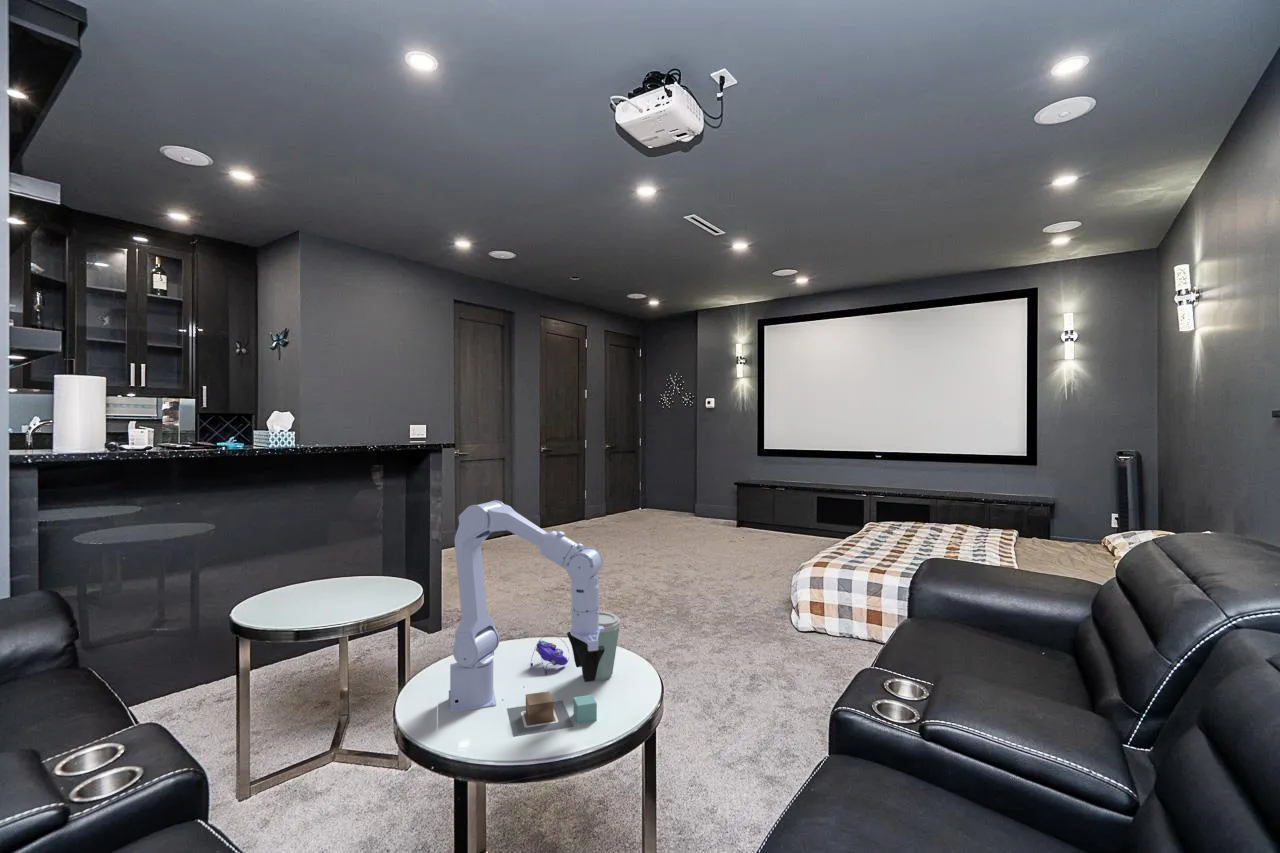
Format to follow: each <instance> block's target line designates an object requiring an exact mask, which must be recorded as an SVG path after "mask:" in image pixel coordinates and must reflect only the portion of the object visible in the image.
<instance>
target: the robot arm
mask: <svg viewBox="0 0 1280 853" xmlns="http://www.w3.org/2000/svg"><path fill="white" fill-rule="evenodd" d="M501 531H502V532H503V531H504V532H505V531H508V532H510V533H512V534H514V535H516V536H518V537H520V538H522V539H523V540H525V541H528V542H530V543H532V544H533V545H535V546H537V547H538V549H539V554H540V555H541V556H543V557H545V559H548V560H550V561H551V562H553V563H554V564H556V565H558V566H559V567H561V568H563V569H565V570H566V573H567V575H568V577H569V578H570V580H571V585H570V586H571V588H570V589H571V590H570V591H571V592H570V593H571V596H570V599H571V601H570V603H571V605H570V606H571V607H570V608H571V612H570V615H571V619H570V621H571V623H570V624H571V626H570V627H571V628H570V630H569V631H568V632H567V633H566V635H567V637H568V639H569V642H570V643H569V644H570V645H571V649H572V653H573V654H572V655H573V658H574V659H573V660H574V663H575V664H574V665H575V667H576V668H581V673H582V678H583V681H584V683H590V682H595V678H596V673H597V669H598V664H599V661H600V659H601V657H602V655H603V653H604V651H605V648H604V646H598V637H599V633H600V632H604V627H603V626H599V611H600V608H599V607H600V584H599V583H600V582H599V581H600V580H599V579H600V578H599V572H600V571H601V569H602V568H603V564H604V561H603V557H602V555H601V553H600V552H599V551H598V550H597V549H596V548H595V547H593V546H588V547H584V544H582V543H580V542H579V543H577V542H576V541H574V540H572V539H570V538H568V537H566V533H565V532H563V531H562V530H560V531H556V530H552V531H549V532H547V531H545V530H544V529H543V528H541V527H539V526H538V525H536V524H535V523H534V522H532V521H530V520H529V519H527V518H526V517H524V516H523V515H522V514H520V513H518V512H517V511H516V510H514V509H513V508H512V506H510V505H508V504H505V503H503V501H501V500H496V499H494V500H491V501H489V502H484V503H480V504H472V505H469V506H468V507H466V508H465V509H464V510H463V511H462V512H461V513H460V514H459V515H458V527H457V530H456V533H455V537H454V551H455V559H456V561H455V562H456V571H457V583H458V593H459V602H460V604H459V605H460V615H461V620H460V623H459V624H458V626H457V628H456V630H455V633H454V637H455V640H454V644H453V646H452V654H453V658H454V660H455V662H454V663H451V664H450V665H449V666H450V667H449V669H450V671H449V674H450V675H449V679H450V680H449V681H450V682H449V690H448V700H450V703H449V704H450V713H457V712H464V711H471V710H472V711H473V710H478V709H486V708H493V707H496V706H497V699H496V694H495V690H494V656H495V651H496V650H497V648H498V647H499V644H500V636H499V632H498V630H497V629H496V626H495V620H494V618H492V616H490V615H489V614H488V607H487V596H486V587H485V578H484V577H485V576H484V566H483V556H482V555H483V554H482V544H483V543H484V541H485V540H486V539H487V538H488V537H489V536H490V535H491V534H492V533H494V532H501Z"/></svg>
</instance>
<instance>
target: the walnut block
mask: <svg viewBox="0 0 1280 853" xmlns="http://www.w3.org/2000/svg"><path fill="white" fill-rule="evenodd" d="M554 701H555V700H553V697H552V694H551V692H550V690H548V691H547V690H546V691H541V692H535V693H527V694H526V693H525V706H526V716H527V720H528V723H529V725H532V724H538V723H544V722H551V721H554Z"/></svg>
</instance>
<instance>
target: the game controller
mask: <svg viewBox="0 0 1280 853" xmlns="http://www.w3.org/2000/svg"><path fill="white" fill-rule="evenodd" d="M547 636H549V634H548V635H545V636H541V637H540V639H539V640H538V642H537V643H536V645H535V647H534V650H533V652H532V656H531V659H530V667H531V668H532V667H533V666H534V663H533V662H532V660H533V657H534V653H535V651H536V652H537V654H538V655H540V659H541V661H545V662H548V663H547V664H546V665H545V667H544V666H542V668H543V671H544V674H545V676H547V675H548V673H547V672H546V669H545V668H547V666H548V665H550V664H551V665H552V666H557V665H559V666H565V665H566V664H568V662H569V660H570V658H567V657H566V656H565V655H563V654H564V651H563V649H560V648H557V645H556V644H554V643H552V642H547V641H545V640H543V638H545V637H547ZM551 636H553V637H555V638H556V637H557V638H558V639H559V640H561V641H562V642H563V643H564V644H565V646H566V648H567V651H568V652H570V650H569V647H568V646H567V644H566V642H565V641H564V640H562V639H561V638H560V637H558V636H557V635H553V634H551ZM541 664H542V665H544V664H543V662H541Z"/></svg>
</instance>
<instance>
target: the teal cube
mask: <svg viewBox="0 0 1280 853" xmlns="http://www.w3.org/2000/svg"><path fill="white" fill-rule="evenodd" d="M597 708H598V706H597V701H596V699H595V696H593V694H586V695H581V696H579V695H578V696H574V697H573V717H574V719H575V720H576V723H577V724H583V723H590V722H595V721H597V720H598V718H597V717H598V714H597V712H598V711H597Z"/></svg>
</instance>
